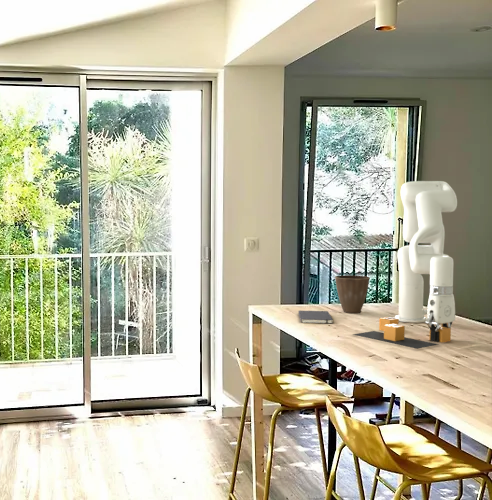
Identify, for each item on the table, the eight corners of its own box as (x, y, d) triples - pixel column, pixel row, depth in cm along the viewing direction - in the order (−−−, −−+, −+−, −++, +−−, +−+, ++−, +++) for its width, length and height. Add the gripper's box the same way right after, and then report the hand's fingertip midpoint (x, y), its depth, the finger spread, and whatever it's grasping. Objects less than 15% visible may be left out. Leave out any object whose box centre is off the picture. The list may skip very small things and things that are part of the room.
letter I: (392, 337, 238) (393, 323, 237) (404, 339, 233) (404, 325, 233) (383, 338, 235) (383, 324, 235) (395, 341, 231) (395, 326, 231)
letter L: (438, 339, 235) (438, 325, 235) (450, 342, 231) (450, 327, 231) (429, 341, 233) (429, 327, 232) (441, 343, 228) (442, 329, 228)
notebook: (298, 313, 291) (301, 322, 270) (298, 310, 290) (301, 319, 270) (327, 314, 288) (332, 323, 267) (327, 311, 288) (333, 319, 267)
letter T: (387, 329, 254) (387, 316, 254) (398, 331, 250) (398, 318, 249) (379, 330, 252) (379, 317, 251) (389, 333, 247) (390, 319, 247)
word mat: (374, 332, 249) (374, 330, 249) (439, 345, 225) (439, 344, 225) (352, 335, 243) (352, 334, 243) (416, 350, 219) (416, 348, 219)
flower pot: (332, 308, 303) (332, 274, 302) (365, 309, 301) (365, 275, 300) (337, 314, 288) (337, 278, 287) (372, 314, 286) (372, 278, 285)
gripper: (435, 293, 223) (434, 345, 224) (465, 290, 231) (464, 340, 233) (416, 291, 229) (415, 342, 231) (446, 287, 238) (445, 336, 239)
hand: (439, 340), depth 232 cm, fingers closed on letter L, 5 cm apart
